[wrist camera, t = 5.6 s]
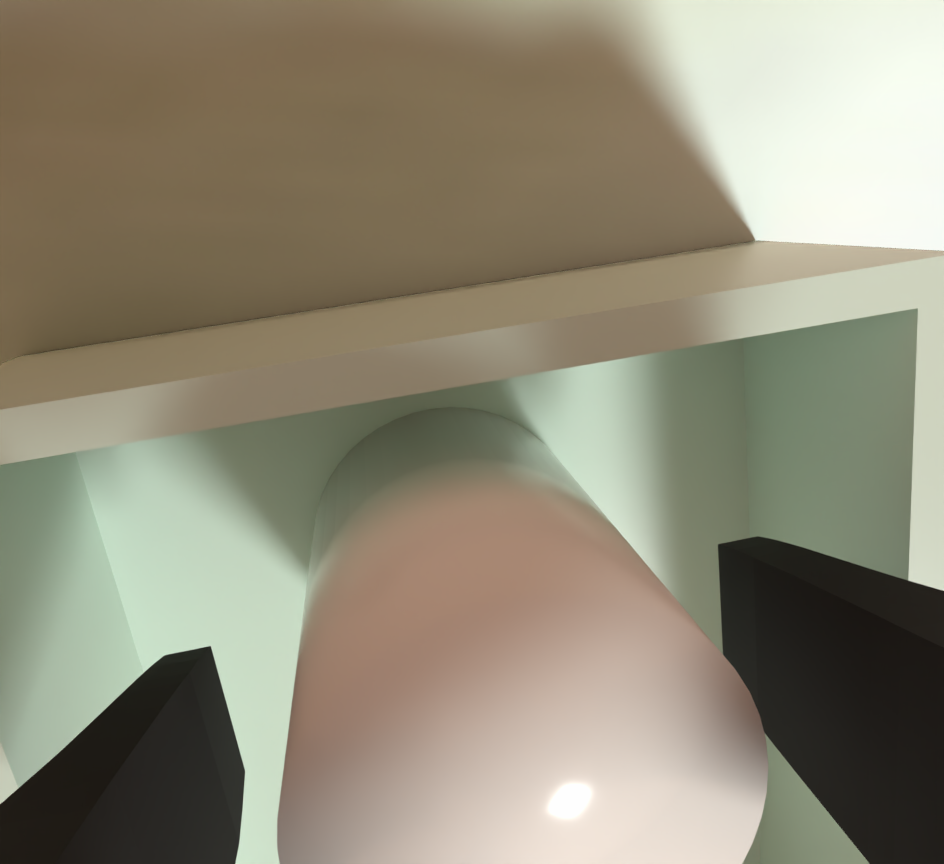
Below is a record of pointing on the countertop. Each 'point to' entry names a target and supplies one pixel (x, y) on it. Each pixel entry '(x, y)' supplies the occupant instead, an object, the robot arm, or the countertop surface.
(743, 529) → the tote
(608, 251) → the countertop surface
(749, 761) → the pale pink egg
